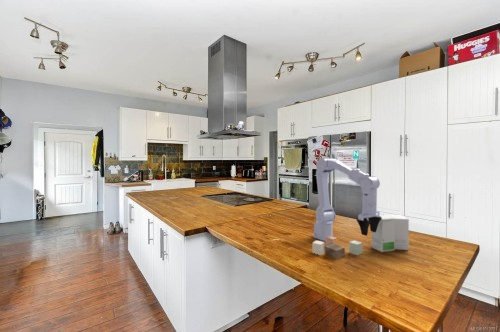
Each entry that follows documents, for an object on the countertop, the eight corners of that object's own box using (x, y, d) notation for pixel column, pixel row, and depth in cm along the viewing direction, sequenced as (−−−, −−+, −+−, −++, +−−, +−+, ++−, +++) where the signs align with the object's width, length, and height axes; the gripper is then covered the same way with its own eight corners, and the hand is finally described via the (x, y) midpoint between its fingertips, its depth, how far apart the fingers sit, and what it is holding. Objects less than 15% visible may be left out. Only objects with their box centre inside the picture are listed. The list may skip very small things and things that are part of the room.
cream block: (312, 253, 107) (312, 242, 107) (316, 250, 110) (316, 240, 110) (320, 255, 105) (320, 244, 104) (324, 252, 108) (324, 242, 107)
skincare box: (381, 252, 107) (382, 219, 106) (370, 247, 113) (370, 216, 113) (395, 250, 109) (396, 217, 109) (383, 245, 116) (384, 214, 115)
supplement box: (401, 243, 117) (402, 214, 117) (409, 250, 109) (409, 219, 108) (381, 242, 120) (382, 213, 119) (387, 248, 111) (388, 218, 110)
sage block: (349, 252, 107) (349, 242, 107) (354, 250, 110) (354, 240, 109) (357, 255, 104) (357, 244, 104) (362, 253, 106) (362, 242, 106)
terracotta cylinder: (324, 246, 114) (324, 237, 114) (329, 245, 117) (329, 235, 116) (331, 249, 111) (331, 239, 111) (336, 247, 113) (336, 237, 113)
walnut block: (325, 255, 105) (325, 246, 105) (333, 251, 109) (333, 243, 109) (336, 259, 100) (336, 250, 100) (344, 256, 104) (344, 247, 104)
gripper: (369, 207, 96) (369, 239, 97) (386, 203, 104) (386, 232, 105) (353, 204, 102) (353, 234, 102) (371, 200, 110) (370, 228, 111)
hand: (368, 233), depth 104 cm, fingers open, 7 cm apart
